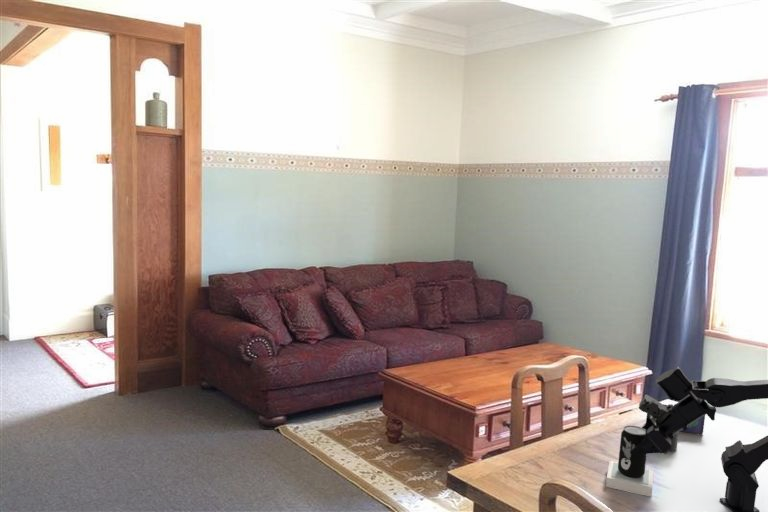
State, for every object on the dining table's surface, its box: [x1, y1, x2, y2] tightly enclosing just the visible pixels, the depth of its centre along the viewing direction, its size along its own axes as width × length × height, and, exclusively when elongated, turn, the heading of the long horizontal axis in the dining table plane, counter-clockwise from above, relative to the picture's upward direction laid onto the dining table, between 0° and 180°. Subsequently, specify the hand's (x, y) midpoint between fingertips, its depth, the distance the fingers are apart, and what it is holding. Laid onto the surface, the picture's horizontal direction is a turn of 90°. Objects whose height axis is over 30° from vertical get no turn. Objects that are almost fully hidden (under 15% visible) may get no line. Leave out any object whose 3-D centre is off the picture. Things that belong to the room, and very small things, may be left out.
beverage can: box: [618, 424, 647, 478], centre depth 167 cm, size 7×7×12 cm
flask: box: [679, 415, 706, 436], centre depth 204 cm, size 9×3×11 cm, turn 76°
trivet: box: [605, 460, 654, 498], centre depth 168 cm, size 11×11×3 cm
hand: (632, 446), depth 167 cm, fingers open, 9 cm apart
